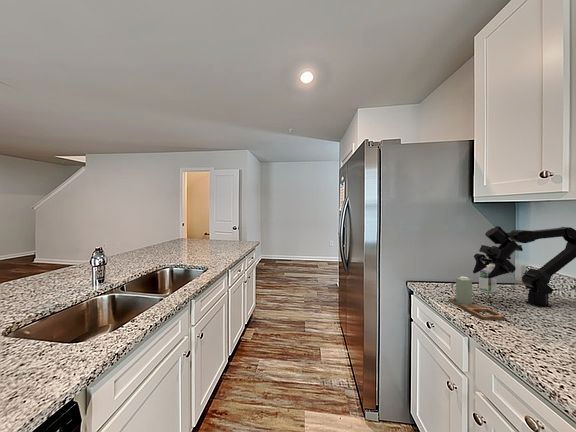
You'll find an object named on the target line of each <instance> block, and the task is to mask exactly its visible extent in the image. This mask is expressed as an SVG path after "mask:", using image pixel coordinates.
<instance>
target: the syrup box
mask: <svg viewBox="0 0 576 432" xmlns="http://www.w3.org/2000/svg"><path fill="white" fill-rule="evenodd" d="M494 268H495V264H491V263H490V264H489V265H487V267H486V268H484V269H482V270H481V271H479V272H478V291H479V292H483V293H487V294H493V293H496V292H497V276H496V277H493V278H490V279H489V278H488V277H487V276H488V275H489V274H490V272H491V271H492V270H493V269H494Z"/></svg>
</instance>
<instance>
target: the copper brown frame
mask: <svg viewBox="0 0 576 432" xmlns="http://www.w3.org/2000/svg"><path fill="white" fill-rule="evenodd" d="M448 302H449V303H451V304H453V305H454V306H456V307H457V308H460V309H462V310H464V311H466V312H467V313H469V314H470V315H472V316H474V317H476V318H477V319H480V320H481V321H505V320H506V319H505V318H506V316H505V315H503V314H501V313H499V312H497V311H495V310H492V309H491V308H489V307H485V306H484V305H481V304H478V302H475V301H473V300H472V304H468V305H461V304H459V303H457V302H456V298H448ZM481 313H488V314H490V315H484V314H483V315H482V314H481Z"/></svg>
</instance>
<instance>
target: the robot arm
mask: <svg viewBox="0 0 576 432" xmlns="http://www.w3.org/2000/svg"><path fill="white" fill-rule="evenodd" d="M484 235H485V237H486V238H487V239H489V240H490V241H491V242H492V243H493V244H494V245H492V246H489V245H485V244H481V246H480V248H479V249H478V251H479V253H475V254H474V255H473V258H474V260H475V265H474V268H473V269H472V273H473V274H477V273H479V271H481V270H482V269H484V268H486V267H487V265H489V264H490V265H495V268H494V269H493V270H492V271H491V272H490V274H489V275H488V276H487V277H488V278H489V279H490V278H493V277H496V278H497V277H500V276H502V275H506V274H510V273H512V274H513V273H514V272H515V271H516V265H514V264H513V263H512V262H511V261H510V260H511V259H512V257H511V256H512V255H513V253H514V252H516V251H518V252H523V251H524V248H523V245H522V244H527V243H532V242H535V241H537V240H543V239H551V238H552V239H553V238H563V240H564V241H566V243H565V248H564V249H563V250H562V251H560V252H558V254H557V255H555V256H554V257H552V258H551V259H550V260H548V261H547V262H546V263H545V264H544V265H542V266H541V267H540V268H538V269H534V268H529V269H528V270H527V271H526V272H523V275H522V276H521V282H522V283H523V285H524V287H525V288H526V289H528V293H527V300H525V303H528V304H530V305H533V306H536V307H539V308H541V307H546V308H547V307H553V305H552V304H550V303H549V300H550V299H549V295H552V293H553V291H554V289H553V288H552V287H551V286H550V285H549V284H550V280H551V278H552V276H554V275H555V274H556V273H558V272H559V271H560V270H562V269H563V268H565V267H566V266H567V265H568V264H569V263H571V262H572V261H573V260H575V259H576V229H575V228H573V227H568V226H560V227H554V228H553V227H552V228H545V229H537V230H525V229H512V230H511V231H510V232H506V231H505V230H504V229H503V228H502V226H498V225H497V226H495V227H492V228H490V229H489V230H487V231H486V232H485V234H484ZM518 243H521V244H518ZM495 245H498V246H495ZM480 252H481V253H480ZM482 253H483V254H482Z"/></svg>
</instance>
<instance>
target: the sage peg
mask: <svg viewBox="0 0 576 432" xmlns="http://www.w3.org/2000/svg"><path fill="white" fill-rule="evenodd" d="M468 278H469V277H467V278H460V277H455V299H456V302H457V303H459V304H461V305H468V304H472V301H473V280H472V279H470V278H469V279H468Z"/></svg>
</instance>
